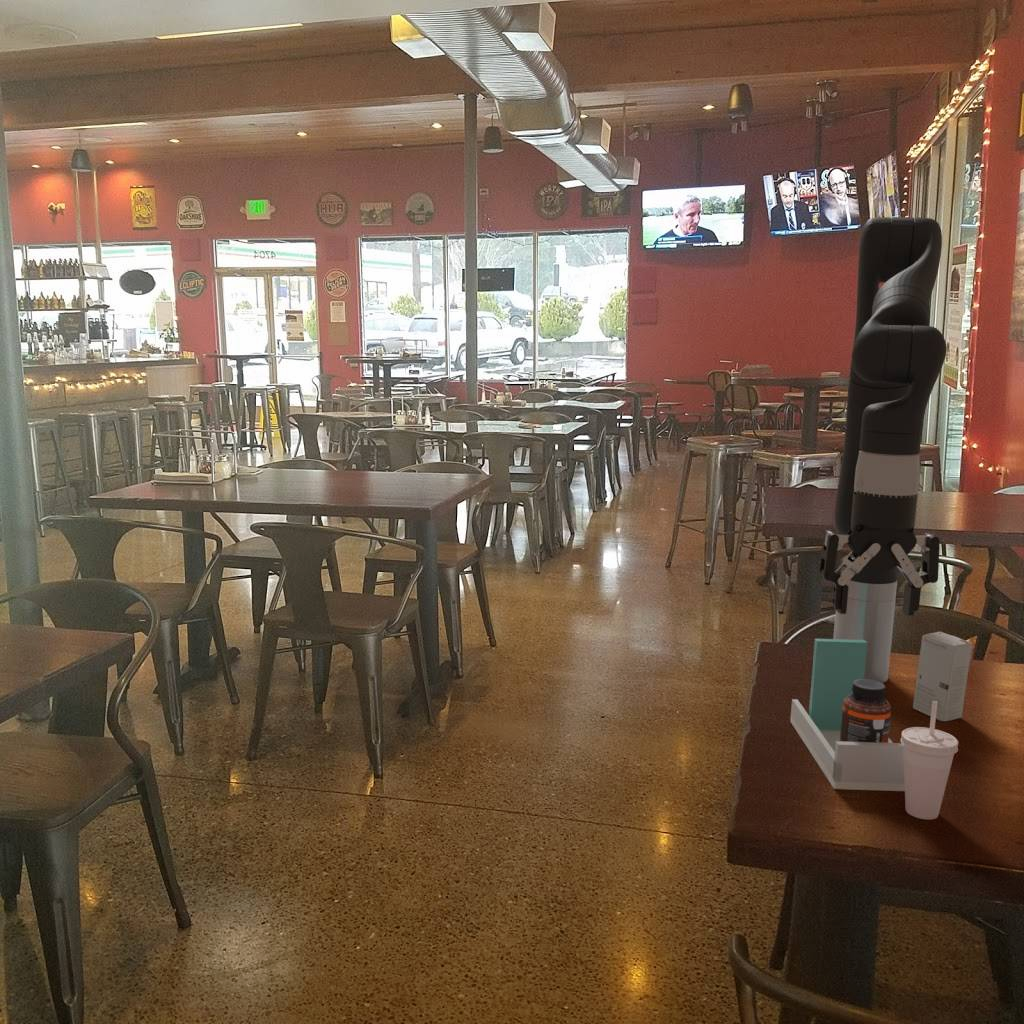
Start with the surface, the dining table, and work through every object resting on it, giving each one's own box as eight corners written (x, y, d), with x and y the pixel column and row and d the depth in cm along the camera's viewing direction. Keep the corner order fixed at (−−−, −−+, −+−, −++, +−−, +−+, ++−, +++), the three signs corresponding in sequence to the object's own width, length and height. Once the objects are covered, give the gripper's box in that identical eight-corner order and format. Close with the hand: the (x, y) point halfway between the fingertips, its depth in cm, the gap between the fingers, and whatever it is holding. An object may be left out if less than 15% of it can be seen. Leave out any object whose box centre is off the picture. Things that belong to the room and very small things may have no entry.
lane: (790, 721, 148) (793, 683, 147) (855, 723, 148) (858, 685, 147) (834, 788, 126) (838, 744, 125) (910, 791, 126) (914, 746, 125)
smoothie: (958, 812, 121) (970, 702, 118) (939, 830, 116) (952, 717, 114) (905, 794, 125) (916, 689, 123) (885, 812, 120) (896, 702, 118)
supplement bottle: (888, 777, 128) (896, 694, 125) (840, 772, 129) (847, 689, 127) (882, 758, 133) (890, 678, 131) (835, 753, 134) (842, 673, 132)
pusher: (807, 725, 143) (814, 638, 141) (856, 726, 143) (864, 639, 141) (810, 728, 142) (817, 641, 140) (859, 729, 142) (867, 642, 140)
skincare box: (911, 709, 154) (918, 633, 152) (931, 704, 156) (939, 630, 154) (944, 723, 149) (953, 645, 146) (965, 718, 151) (973, 641, 149)
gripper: (931, 484, 128) (919, 606, 131) (819, 481, 128) (810, 603, 131) (955, 494, 120) (942, 623, 123) (837, 491, 120) (826, 620, 124)
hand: (874, 613), depth 127 cm, fingers open, 8 cm apart
